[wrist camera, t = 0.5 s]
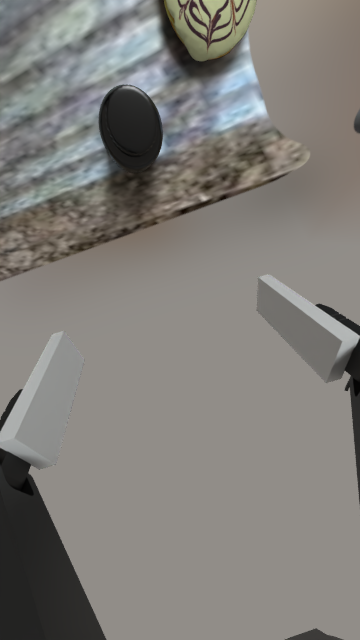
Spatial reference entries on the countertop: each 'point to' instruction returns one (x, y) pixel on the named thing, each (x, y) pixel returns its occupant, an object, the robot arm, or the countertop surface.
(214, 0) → the decorated donut
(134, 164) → the supplement bottle
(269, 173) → the countertop surface
